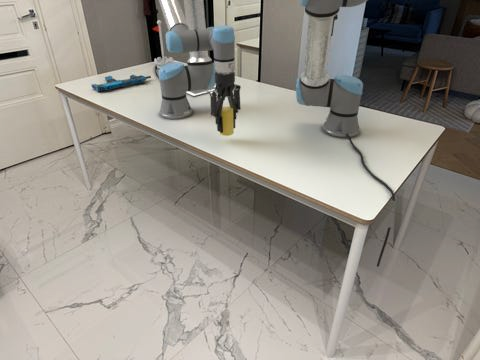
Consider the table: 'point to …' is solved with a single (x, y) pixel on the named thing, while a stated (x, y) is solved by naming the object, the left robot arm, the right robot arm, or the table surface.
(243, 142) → the table surface
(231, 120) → the cylinder
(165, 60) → the flag stand
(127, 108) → the table surface
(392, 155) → the table surface
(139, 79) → the submachine gun
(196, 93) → the tablet
